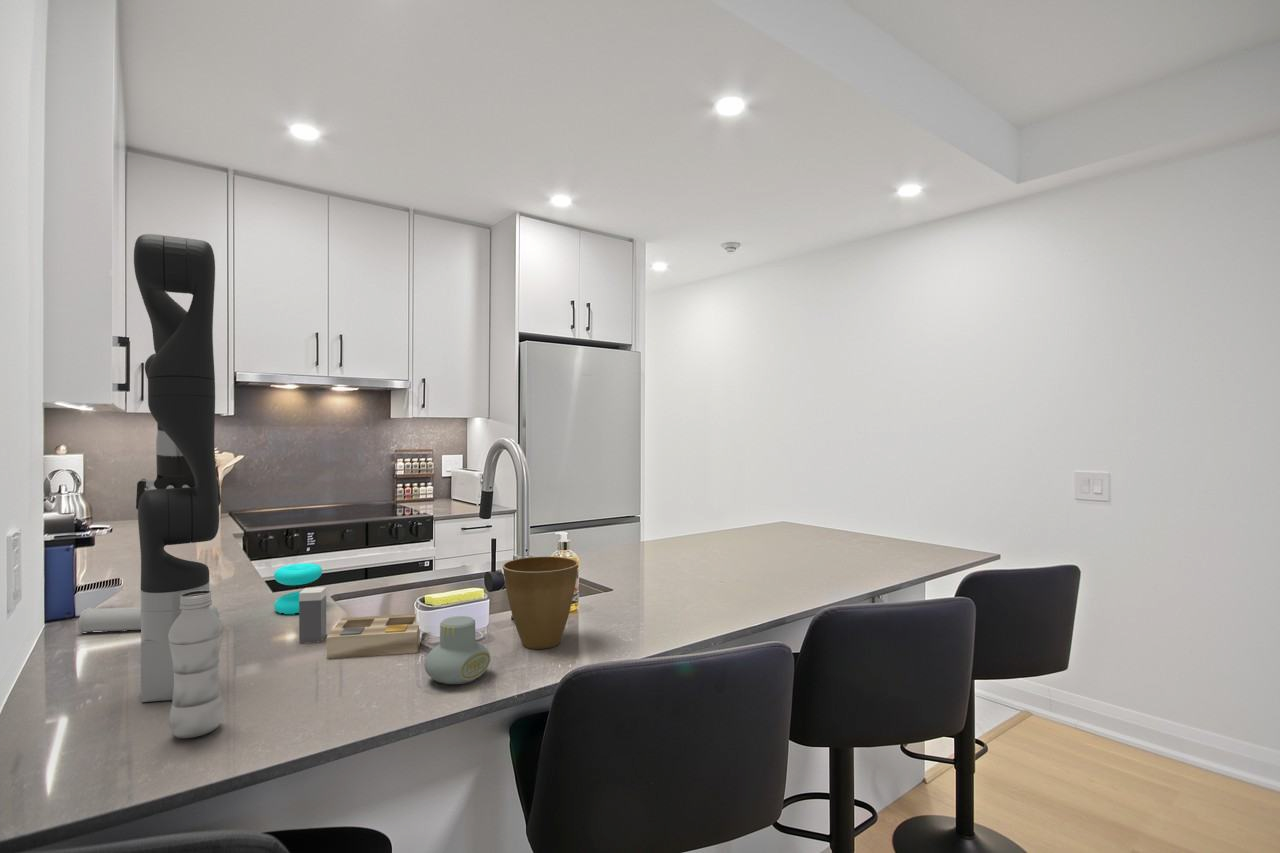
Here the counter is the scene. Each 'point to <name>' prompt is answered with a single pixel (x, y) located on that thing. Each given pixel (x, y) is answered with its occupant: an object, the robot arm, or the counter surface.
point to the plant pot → (540, 597)
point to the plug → (312, 614)
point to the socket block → (374, 636)
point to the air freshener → (457, 653)
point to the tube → (113, 619)
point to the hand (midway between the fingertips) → (180, 527)
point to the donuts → (294, 576)
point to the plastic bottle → (195, 667)
